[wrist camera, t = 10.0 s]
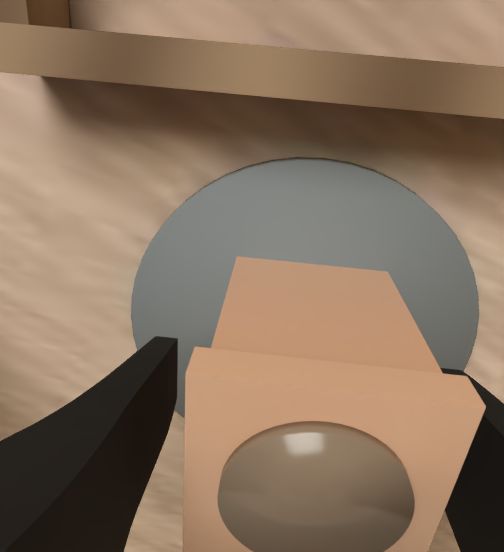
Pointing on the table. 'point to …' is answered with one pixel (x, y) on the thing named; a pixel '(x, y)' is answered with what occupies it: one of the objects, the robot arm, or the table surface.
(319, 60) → the cold frame
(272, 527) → the orange block with dome
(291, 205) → the mat
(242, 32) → the table surface
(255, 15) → the table surface
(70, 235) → the table surface
